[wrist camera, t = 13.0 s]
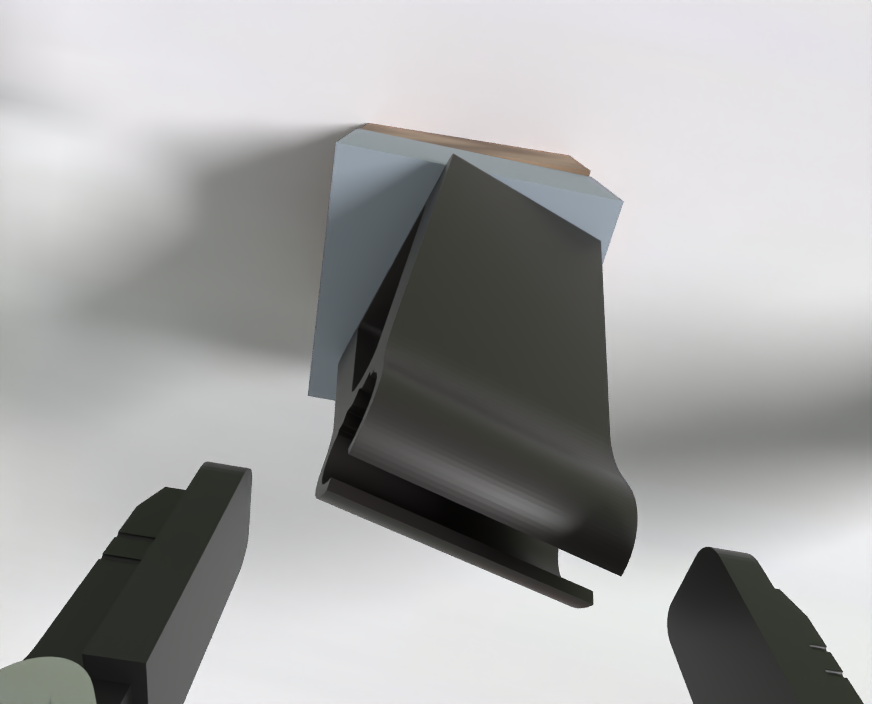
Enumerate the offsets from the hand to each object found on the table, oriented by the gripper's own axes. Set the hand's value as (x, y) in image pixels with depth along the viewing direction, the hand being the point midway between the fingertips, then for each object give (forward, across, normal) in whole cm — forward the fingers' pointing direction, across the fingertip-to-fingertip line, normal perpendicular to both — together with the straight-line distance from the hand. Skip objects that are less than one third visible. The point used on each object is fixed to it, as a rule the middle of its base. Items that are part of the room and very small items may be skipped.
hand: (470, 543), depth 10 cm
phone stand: (+13, 0, 0) cm, 13 cm away
